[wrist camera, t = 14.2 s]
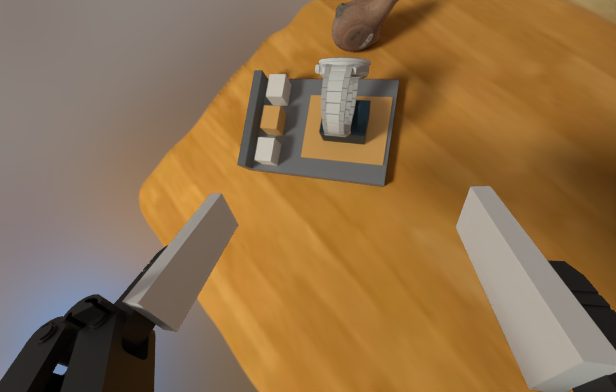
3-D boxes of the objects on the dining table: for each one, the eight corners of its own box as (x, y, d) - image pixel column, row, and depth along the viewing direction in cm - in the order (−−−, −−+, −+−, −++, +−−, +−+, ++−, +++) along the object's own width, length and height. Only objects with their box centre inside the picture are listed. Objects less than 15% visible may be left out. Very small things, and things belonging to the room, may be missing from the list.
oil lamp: (395, 21, 31) (406, -46, 23) (401, 46, 30) (414, -13, 22) (333, 42, 33) (323, -13, 25) (337, 66, 32) (329, 18, 24)
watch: (372, 98, 29) (378, 28, 18) (362, 157, 28) (362, 122, 18) (330, 96, 30) (313, 30, 19) (320, 153, 30) (297, 117, 19)
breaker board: (397, 86, 30) (402, 66, 26) (382, 186, 29) (386, 182, 25) (265, 84, 35) (252, 68, 31) (249, 170, 34) (235, 164, 30)
